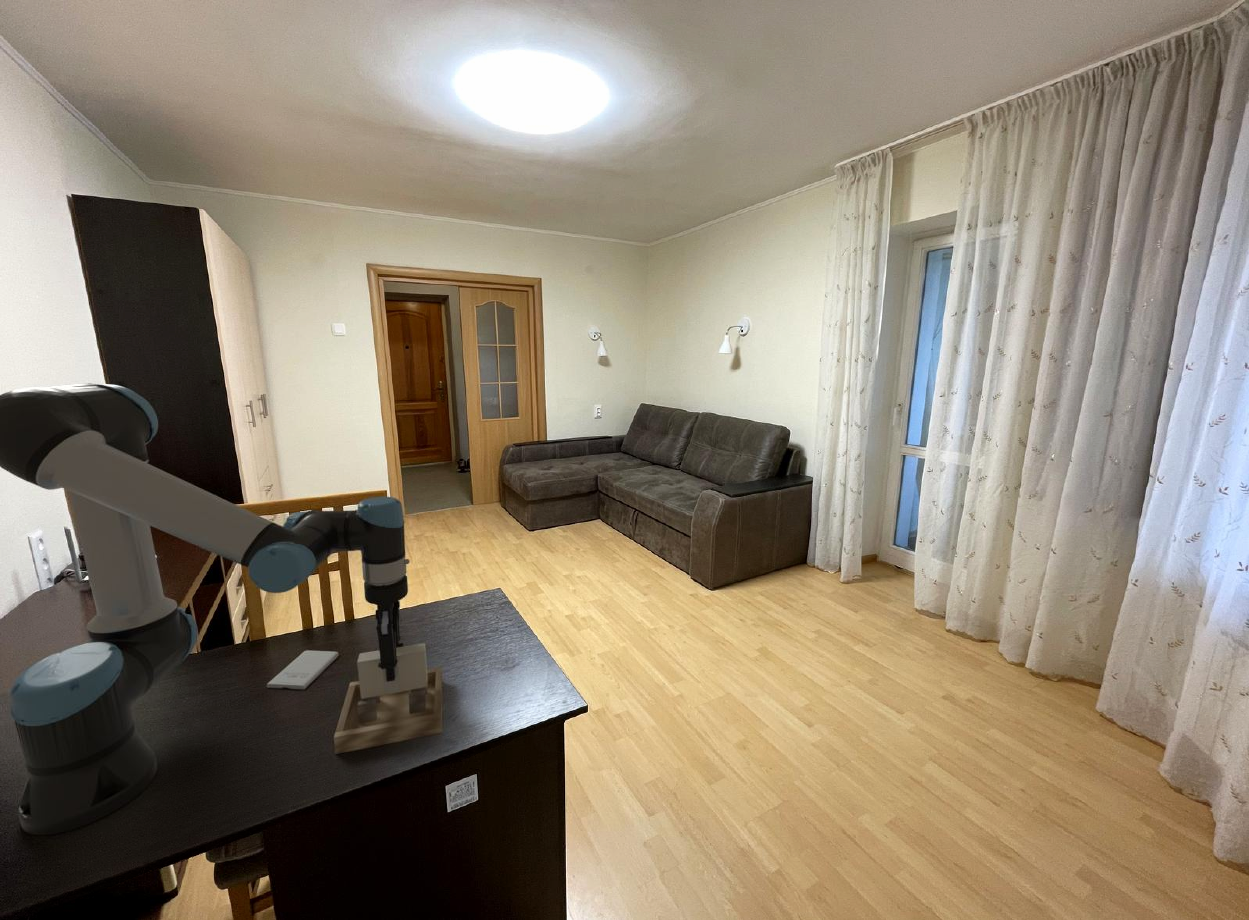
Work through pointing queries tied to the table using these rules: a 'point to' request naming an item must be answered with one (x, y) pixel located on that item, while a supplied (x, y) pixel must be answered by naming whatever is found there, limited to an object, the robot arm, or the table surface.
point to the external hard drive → (303, 670)
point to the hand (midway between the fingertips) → (393, 686)
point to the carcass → (389, 716)
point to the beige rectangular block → (409, 670)
